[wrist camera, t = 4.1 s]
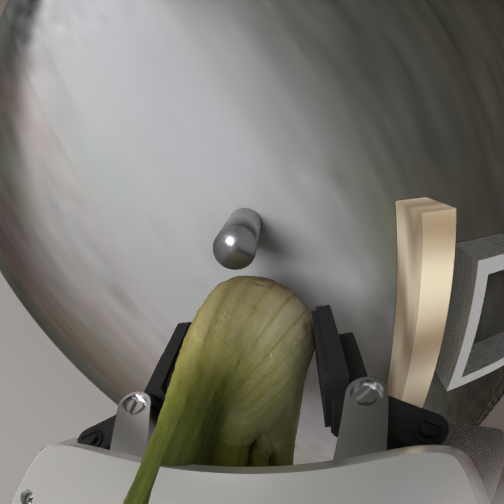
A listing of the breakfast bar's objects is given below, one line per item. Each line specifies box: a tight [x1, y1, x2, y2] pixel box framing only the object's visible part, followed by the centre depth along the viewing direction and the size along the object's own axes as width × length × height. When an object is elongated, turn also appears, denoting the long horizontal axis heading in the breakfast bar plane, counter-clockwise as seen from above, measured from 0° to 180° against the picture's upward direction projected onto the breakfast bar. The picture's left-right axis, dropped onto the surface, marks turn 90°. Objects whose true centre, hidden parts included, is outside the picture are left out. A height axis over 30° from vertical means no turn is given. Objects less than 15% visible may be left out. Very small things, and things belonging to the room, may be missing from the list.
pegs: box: [213, 208, 261, 270], centre depth 14 cm, size 12×2×4 cm, turn 11°
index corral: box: [435, 233, 504, 391], centre depth 13 cm, size 10×10×3 cm
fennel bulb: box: [123, 276, 315, 504], centre depth 8 cm, size 6×5×12 cm
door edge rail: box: [387, 197, 456, 408], centre depth 14 cm, size 14×2×3 cm, turn 11°
